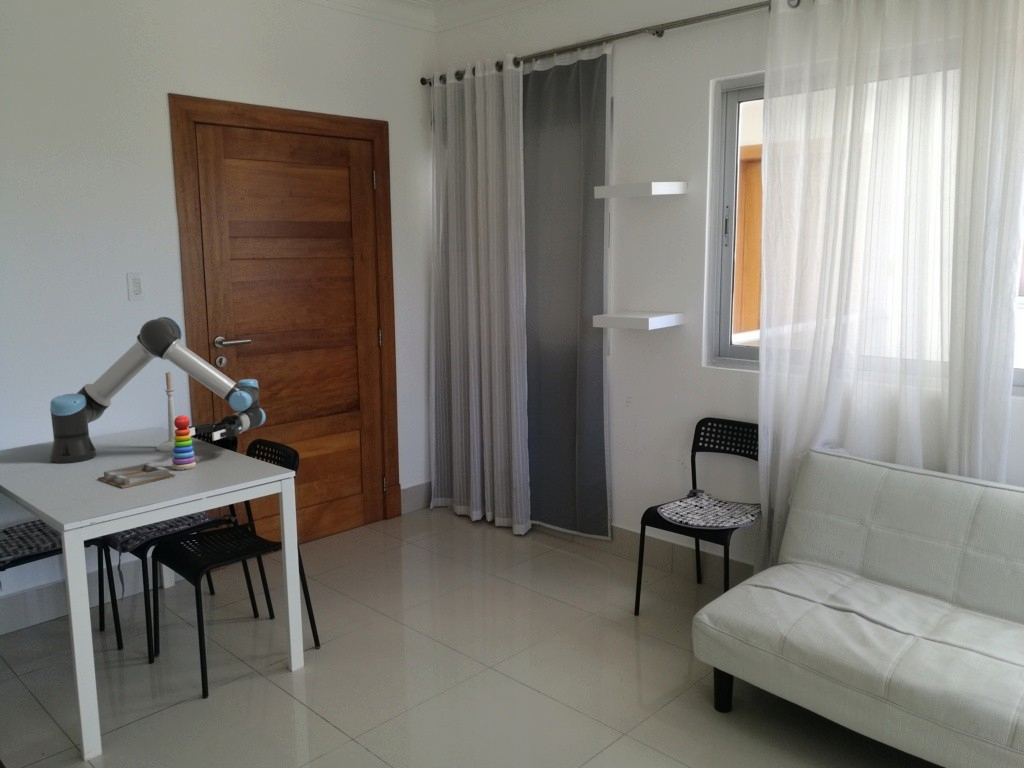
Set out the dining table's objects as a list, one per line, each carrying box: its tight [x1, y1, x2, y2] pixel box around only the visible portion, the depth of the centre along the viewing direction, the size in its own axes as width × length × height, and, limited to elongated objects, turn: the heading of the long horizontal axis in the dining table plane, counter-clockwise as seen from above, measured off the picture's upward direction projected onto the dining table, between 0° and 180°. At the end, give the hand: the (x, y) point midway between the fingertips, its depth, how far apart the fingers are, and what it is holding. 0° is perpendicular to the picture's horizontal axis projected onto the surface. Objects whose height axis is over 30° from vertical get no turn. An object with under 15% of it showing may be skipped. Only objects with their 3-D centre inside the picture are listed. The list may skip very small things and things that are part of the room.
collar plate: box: [97, 462, 177, 489], centre depth 281 cm, size 18×18×3 cm
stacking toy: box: [171, 414, 197, 471], centre depth 293 cm, size 8×8×19 cm
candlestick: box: [156, 371, 193, 452], centre depth 323 cm, size 13×13×30 cm
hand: (197, 435), depth 300 cm, fingers open, 13 cm apart
